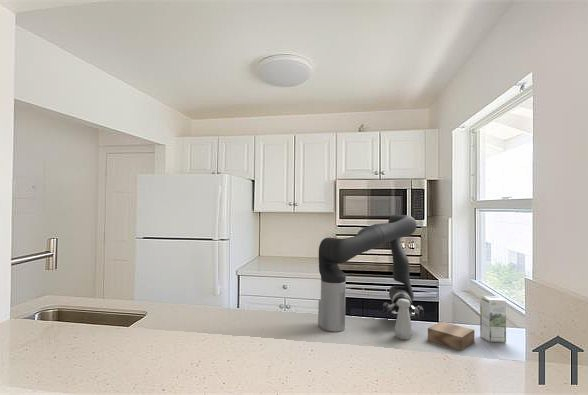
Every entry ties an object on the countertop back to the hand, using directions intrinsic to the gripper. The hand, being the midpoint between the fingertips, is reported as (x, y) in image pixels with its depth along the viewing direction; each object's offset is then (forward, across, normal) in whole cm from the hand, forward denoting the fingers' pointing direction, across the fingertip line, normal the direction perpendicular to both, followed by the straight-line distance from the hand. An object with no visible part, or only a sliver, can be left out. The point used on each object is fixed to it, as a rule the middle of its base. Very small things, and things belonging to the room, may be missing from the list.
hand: (403, 314), depth 114 cm
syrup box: (-6, +30, +7) cm, 31 cm away
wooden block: (0, +15, +7) cm, 17 cm away
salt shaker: (+3, 0, +7) cm, 8 cm away
